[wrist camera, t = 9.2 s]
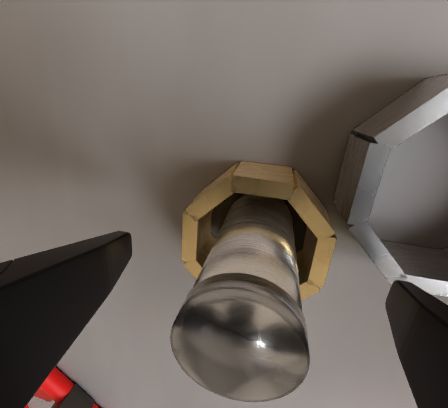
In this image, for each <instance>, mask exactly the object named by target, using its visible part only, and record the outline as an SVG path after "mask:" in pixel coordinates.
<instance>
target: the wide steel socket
mask: <svg viewBox="0 0 448 408" xmlns="http://www.w3.org/2000/svg"><path fill="white" fill-rule="evenodd" d="M447 113H448V74H444V75H439V76H433V77H431V78H426V79H424V80H423V81H421V82H420V83H418V84H417V85H415V86H414V87H413V88H411V89H410V90H408V91H407V92H406V93H404V94H403V95H401V96H400V97H398V98H397V99H396V100H394V101H393V102H391V103H390V104H389V105H387V106H386V107H384V108H383V109H381V110H380V111H379V112H377V113H376V114H374V115H373V116H372V117H370V118H369V119H367V120H366V121H364V122H363V123H362V124H360V125H359V126H357V127H356V128H355V129H353V131H354V132H355V134H356V135H353V134H350V135H349V139H348V143H347V147H346V151H345V155H344V159H343V163H342V167H341V171H340V175H339V179H338V183H337V187H336V191H335V195H334V201H335V203H334V204H335V206H336V208H337V209H338V211H339V213H340V215H341V217H342V219H343V220H344V222H345V224H346V226H347V228H348V229H349V231H350V232H351V233H352V235H353V236H354V237H355V239H356V240H357V241H358V243H359V244H360V245H361V247H362V248H363V249H364V250H365V252H366V253H367V254H368V256H369V257H370V258H371V260H372V261H373V262H374V264H375V265H376V266H377V268H378V269H379V270H380V272H381V273H382V274H383V276H384V277H385V278H386V280H387V281H388V282H389V284H390V285H392V284H393V282H394V281H395V280H402V281H408V282H411V283H413V284H414V285H416V286H418V287H419V288H421V289H422V290H424V291H426V292H427V293H429V294H433V295H439V296H444V297H448V247H446V248H444V249H442V250H440V249H433V248H427V247H421V246H414V245H408V244H401V243H395V242H389V241H382V240H380V239H379V238H378V237H377V235H376V234H375V232H374V231H373V230H372V228H371V227H370V226H369V224H368V223H367V222H368V218H369V215H370V212H371V209H372V206H373V202H374V199H375V196H376V193H377V190H378V186H379V183H380V180H381V177H382V174H383V170H384V167H385V164H386V161H387V158H388V154H389V151H390V150H391V149H393V148H394V147H396V146H397V145H399V144H400V143H402V142H403V141H405V140H407V139H408V138H410V137H411V136H413V135H414V134H416V133H418V132H419V131H421V130H422V129H424V128H425V127H427V126H428V125H430V124H432V123H433V122H435V121H436V120H438V119H439V118H441V117H443V116H444V115H446V114H447Z"/></svg>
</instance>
